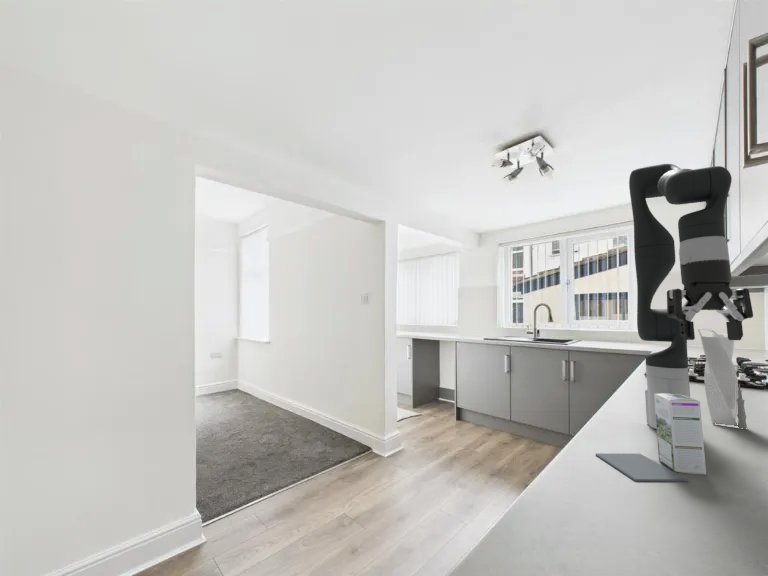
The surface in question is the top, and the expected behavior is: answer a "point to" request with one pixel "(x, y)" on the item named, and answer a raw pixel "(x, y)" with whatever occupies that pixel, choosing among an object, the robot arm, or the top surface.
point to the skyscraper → (722, 381)
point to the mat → (641, 468)
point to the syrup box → (680, 433)
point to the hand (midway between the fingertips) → (711, 340)
